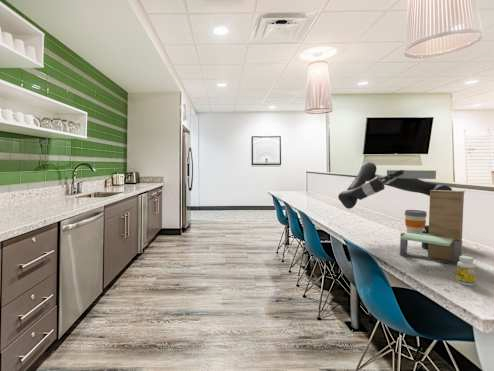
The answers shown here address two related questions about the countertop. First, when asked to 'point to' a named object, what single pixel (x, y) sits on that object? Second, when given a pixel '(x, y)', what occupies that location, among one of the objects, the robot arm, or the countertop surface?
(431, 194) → the walnut pedestal
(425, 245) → the supplement bottle
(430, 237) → the trapdoor
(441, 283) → the countertop surface
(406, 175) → the slate bar
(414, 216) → the reusable coffee cup
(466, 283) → the supplement bottle
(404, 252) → the trapdoor frame
